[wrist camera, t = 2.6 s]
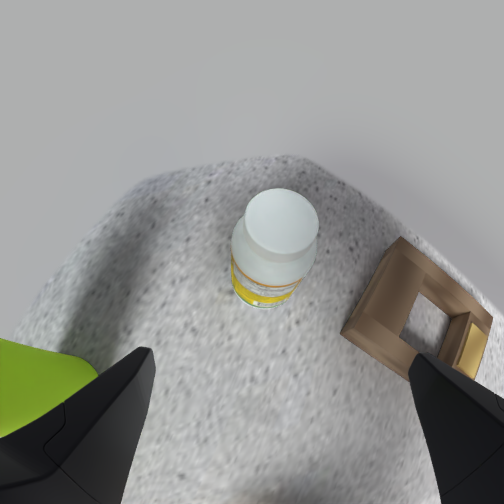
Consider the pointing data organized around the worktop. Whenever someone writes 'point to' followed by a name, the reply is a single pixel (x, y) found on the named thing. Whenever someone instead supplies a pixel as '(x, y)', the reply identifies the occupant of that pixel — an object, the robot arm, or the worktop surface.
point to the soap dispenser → (36, 382)
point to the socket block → (400, 304)
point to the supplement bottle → (273, 247)
